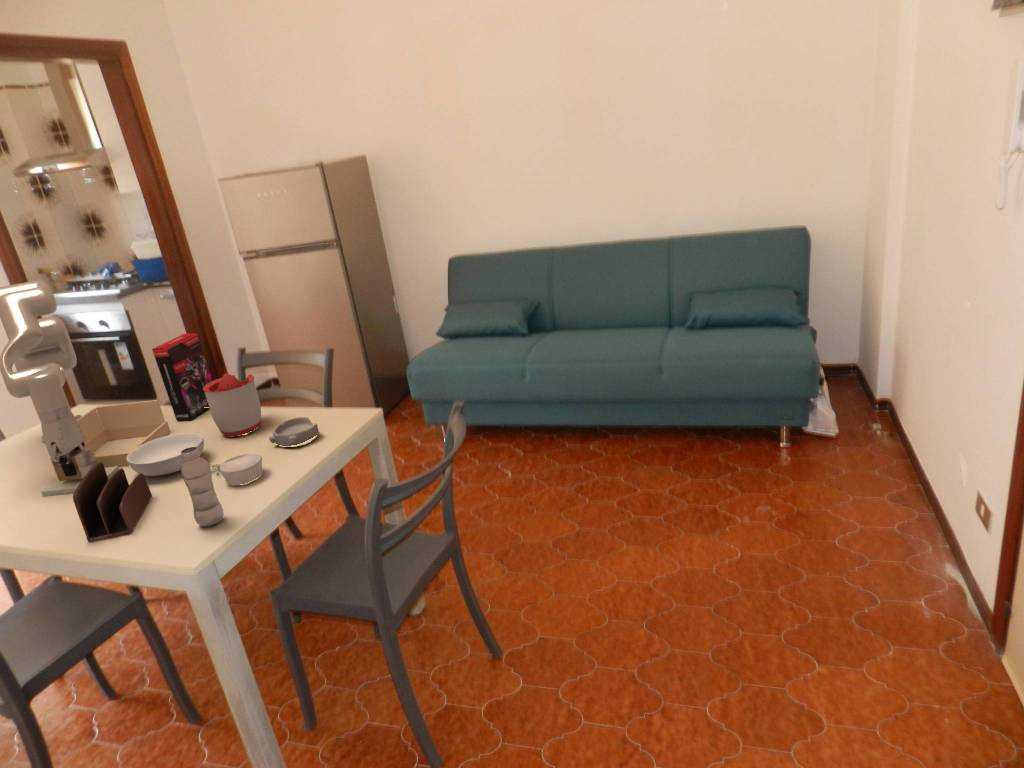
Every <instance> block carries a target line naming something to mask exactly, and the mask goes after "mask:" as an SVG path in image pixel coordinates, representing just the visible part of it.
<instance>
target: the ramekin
mask: <svg viewBox="0 0 1024 768" xmlns="http://www.w3.org/2000/svg"><path fill="white" fill-rule="evenodd" d="M219 472H220V473H221V474H222V477H223V479H224V481H225V482H226V484H228V485H229V486H231V485H240V484H245V483H248V482H250V481H252V480H254V479H256V478H258V477H259V476H260V475H261V474H262V475H263V473H262V472H264V471H263V458H262V455H261V454H259V453H256V452H255V453H243V454H239V455H235V456H233V457H230V458H228V459H226V460H224V461H223V462H222V463H221V464H220V465H219ZM262 475H261V476H262Z"/></svg>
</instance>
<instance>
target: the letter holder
mask: <svg viewBox="0 0 1024 768" xmlns="http://www.w3.org/2000/svg"><path fill="white" fill-rule="evenodd" d="M151 492H152V491H151V489H150V487H149V484H148V482H147V480H146V475H144V474H143V473H140V474H139V473H138V475H135V478H134V479H133V480H132V481H131V483H129V481H128V478H127V475H126V473H125V470H124V468H122V467H120V468H119V470H118V471H117V472H115V473H114V474H113V476H112V477H111V478H110V479H109V480H108V477H107V474H106V471H105V467H104V465H103V463H102V462H99V463H97V464H96V465H95V466H94V467H92V468H91V470H90V471H89V472H88V473H87V474H86V475H85V477H84V478H83V480H82V481H81V482H80V484H79V485H78V487H77V489H76V490H75V492H74V493H72V494H73V495H72V499H73V503H74V506H75V509H76V513H77V515H78V517H79V520H80V522H81V526H82V529H83V532H84V534H85V537H86V540H87V543H93V542H98V541H104V540H108V539H113V538H117V537H121V536H127V535H131V534H132V533H133V530H134V529H135V527H136V525H137V523H138V522H139V520H140V518H141V517H142V515H143V514H144V511H145V510H146V508H147V507H148V504H149V503H150V501H151V499H152V498H153V495H152V493H151Z"/></svg>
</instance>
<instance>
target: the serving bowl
mask: <svg viewBox="0 0 1024 768" xmlns="http://www.w3.org/2000/svg"><path fill="white" fill-rule="evenodd" d="M189 447H197V448H198V451H199V453H200V456H199V457H201V455H202V454H203V451H204V447H205V443H204V437H203V435H202V434H200V433H196V432H181V433H180V432H179V433H174V434H170V435H169V434H168V435H167V436H165V437H161V438H158V439H155V440H152V441H149V442H147V443H145V444H143V445H140V446H139V447H137V448H135V449H134V450H132V449H131V450H132V451H131V450H130V451H131V452H130V451H129V452H130V453H129V454H128V455H127V458H126V460H127V462H128V464H129V465H130V466H129V467H130V469H132V470H133V471H134V472H136V473H138V475H139V474H140V473H143V474H144V476H145V477H156V476H157V477H158V476H164V475H171V474H174V473H176V471H177V472H179V471H181V468H182V465H183V463H184V460H183V459H182V455H181V451H182V450H184V449H186V448H189ZM173 472H174V473H173Z"/></svg>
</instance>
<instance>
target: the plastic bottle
mask: <svg viewBox="0 0 1024 768" xmlns="http://www.w3.org/2000/svg"><path fill="white" fill-rule="evenodd" d="M181 455H182V459H183V460H184V463H183V465H182V468H181V470H180V475H181V478H182V481H183V482H184V483H185V485H186V487H187V490H188V493H189V495H190V498H191V503H192V507H193V518H194V520H195V522H196V524H197V525H199V526H200V527H202V528H206V527H212V526H214V525H217V524H218V523H220V522H221V521H223V519H224V516H225V515H224V508H223V506H222V504H221V502H220V501H219V498H218V496H217V494H216V491H215V487H214V481H213V477H212V469H211V465H210V463H209V462H208V461H207V460H206V459H204V458H202V457H201V455H200V453H199V451H198V448H197V447H189V448H186V449H184V450H182V451H181ZM199 456H200V457H199Z"/></svg>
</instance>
